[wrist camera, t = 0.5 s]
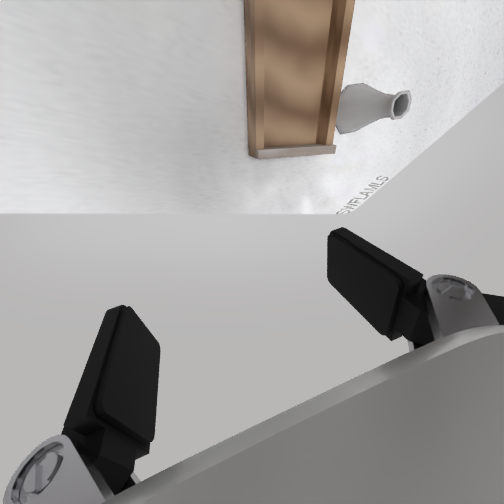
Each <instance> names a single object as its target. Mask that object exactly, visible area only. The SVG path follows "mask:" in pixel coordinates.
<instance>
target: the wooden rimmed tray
mask: <svg viewBox="0 0 504 504" xmlns="http://www.w3.org/2000/svg"><path fill="white" fill-rule="evenodd" d="M354 4H355V0H244V19H245V51H246V84H247V116H248V148H249V155H250V156H252V157H254V158H257V159H268V158H281V157H295V156H308V155H321V154H334V153H335V150H336V145H332V144H333V138H334V131H335V125H336V119H337V112H338V106H339V100H340V93H341V87H342V80H343V74H344V68H345V61H346V55H347V49H348V42H349V36H350V30H351V23H352V17H353V10H354Z"/></svg>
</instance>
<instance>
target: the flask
mask: <svg viewBox="0 0 504 504" xmlns="http://www.w3.org/2000/svg"><path fill="white" fill-rule="evenodd" d="M411 100H412V99H411V95H410V91H402V92H398V93H397V94H396V95H391V94H385V93H382V92H380V91H378V90H376V89H374V88H372V87H370V86H368V85H366V84H364V83H361V84H353V85H348V86H347V87H346V88H345V89H344V90H343V92H342V93H341V94H340V100H339V106H338V112H337V119H336V127H337V128H338V130H339V132H340V134H344V133H350V132H355V131H357V130H359V129H360V128H362V127H364V126H366V125H368V124H370V123H372V122H374V121H377V120H379V119H382V118H386V117H391V119H392V120H394V119H400V118H402V117H403V116H404V115H405V114H406V113H407V112H408V111H409V108H410V104H411Z"/></svg>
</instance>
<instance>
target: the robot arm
mask: <svg viewBox="0 0 504 504" xmlns="http://www.w3.org/2000/svg"><path fill="white" fill-rule="evenodd" d="M327 247H328V248H327V256H328V257H327V278H328V281H329V282H330V284H331V285H332V286H333V287H334V288H335V289H336V290H337V291H338V292H339V293H340V294H341V295H342V296H343V297H344V298H345V299H346V300H347V301H348V302H349V303H350V304H351V305H352V306H353V307H354V308H355V309H356V310H357V311H358V312H359V313H360V314H361V315H362V316H363V317H364V318H365V319H366V320H367V321H368V322H369V323H370V324H371V325H372V326H373V327H374V328H375V329H376V330H377V331H378V332H379V333H380V334H381V335H386V336H387V337H388V338H389V339H390V340H391V341H392V340H395V339H397V338H399V337H401V336H402V335H403V336H404V337H405V338H406V339H407V340H408V345H409V350H410V352H409V353H406V354H404V355H402V356H400V357H398V358H396V359H394V360H392V361H389V362H387V363H385V364H383V365H381V366H379V367H377V368H374V369H372V370H370V371H368V372H366V373H364V374H362V375H360V376H358V377H355V378H353V379H351V380H349V381H347V382H345V383H343V384H341V385H339V386H337V387H334V388H332V389H330V390H328V391H326V392H324V393H322V394H320V395H318V396H316V397H313V398H311V399H309V400H307V401H305V402H303V403H301V404H299V405H297V406H295V407H293V408H291V409H288V410H287V411H284V412H282V413H280V414H278V415H276V416H274V417H272V418H270V419H268V420H266V421H263V422H262V423H259V424H258V425H255V426H253V427H251V428H249V429H247V430H245V431H243V432H241V433H239V434H237V435H235V436H232V437H230V438H228V439H226V440H224V441H222V442H220V443H218V444H216V445H214V446H212V447H210V448H208V449H206V450H204V451H202V452H200V453H198V454H196V455H193V456H192V457H189V458H187V459H185V460H183V461H181V462H179V463H177V464H175V465H173V466H171V467H169V468H167V469H165V470H163V471H161V472H159V473H157V474H155V475H153V476H152V477H150V478H148V479H146V480H144V481H142V482H141V481H140V480H139V479H138V477H137V476H136V475H135V473H134V472H133V471H134V464H135V460H136V459H138V458H140V457H142V456H144V455H147V454H149V449H150V442H152V441H153V439H154V435H155V422H156V407H157V392H158V378H159V363H160V345H159V343H158V342H157V340H156V339H155V338H154V336H153V335H152V334H151V332H150V331H149V330H148V328H147V327H146V326H145V325H144V323H143V322H142V321H141V319H140V318H139V317H138V316H137V314H136V313H135V312H134V310H133V309H132V308H131V307H130V306H128V307H126V306H124V305H120V306H117V307H115V308H112V309H109V310H107V311H106V313H105V316H104V319H103V321H102V324H101V327H100V329H99V332H98V335H97V337H96V340H95V343H94V345H93V348H92V351H91V353H90V356H89V359H88V361H87V364H86V367H85V369H84V372H83V375H82V377H81V380H80V383H79V385H78V388H77V391H76V393H75V396H74V399H73V401H72V404H71V406H70V409H69V412H68V414H67V418H66V420H65V423H64V428H63V431H62V434H61V435H57V436H54V437H51V438H49V439H47V440H46V441H44V442H43V443H41V444H40V445H39V446H38V447H36V448H35V449H34V450H33V451H32V452H31V453H30V454H29V455H28V456H27V457H26V459H25V460H24V461H23V462H22V463H21V464H20V466H19V467H18V469H17V470H16V472H15V473H14V474H13V476H12V478H11V480H10V482H9V484H8V486H7V488H6V491H5V495H4V498H3V504H504V297H502V296H496V295H489V294H483V293H481V291H480V290H479V289H478V288H477V287H476V286H475V285H474V284H472V283H471V282H469V281H467V280H465V279H462V278H459V277H456V276H452V275H434V276H432V277H430V278H428V280H427V281H426V280H424V279H423V278H422V277H423V274H421V273H420V272H418V271H417V270H415V269H413V268H411V267H410V266H408V265H406V264H404V263H403V262H401V261H400V260H398V259H396V258H395V257H393V256H391V255H390V254H388V253H386V252H384V251H383V250H381V249H379V248H378V247H376V246H374V245H373V244H371V243H369V242H368V241H366V240H364V239H363V238H361V237H359V236H357V235H356V234H354V233H353V232H351V231H349V230H348V229H346V228H343V227H341V228H339V229H336V230H333V231H331V232H330V235H329V236H328V243H327Z"/></svg>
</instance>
